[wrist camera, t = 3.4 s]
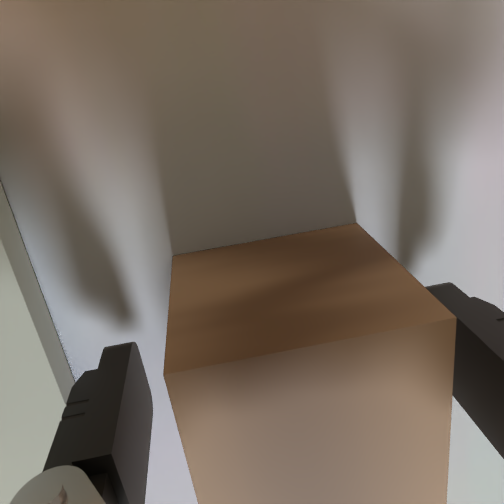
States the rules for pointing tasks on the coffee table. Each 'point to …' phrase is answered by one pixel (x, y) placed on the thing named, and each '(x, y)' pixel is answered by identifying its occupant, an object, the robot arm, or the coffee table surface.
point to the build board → (26, 365)
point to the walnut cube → (309, 373)
